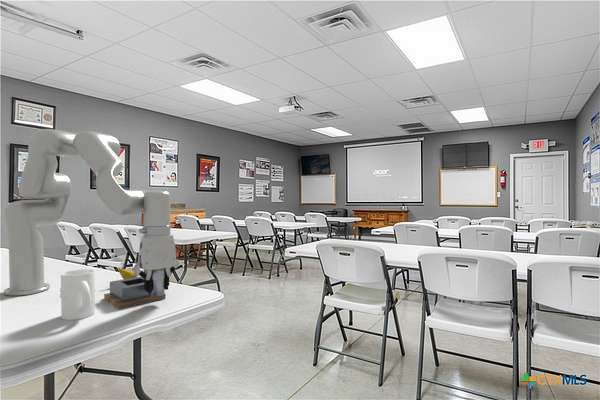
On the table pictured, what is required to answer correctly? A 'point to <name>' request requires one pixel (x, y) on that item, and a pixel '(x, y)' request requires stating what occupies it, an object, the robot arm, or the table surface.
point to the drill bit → (127, 273)
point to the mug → (77, 294)
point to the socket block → (128, 289)
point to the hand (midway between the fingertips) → (156, 289)
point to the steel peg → (158, 282)
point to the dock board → (134, 302)
